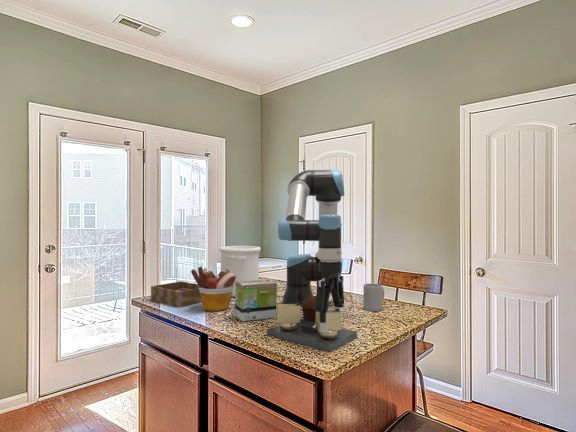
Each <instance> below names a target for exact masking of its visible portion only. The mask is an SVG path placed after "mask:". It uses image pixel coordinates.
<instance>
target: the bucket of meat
mask: <svg viewBox="0 0 576 432" xmlns="http://www.w3.org/2000/svg"><path fill="white" fill-rule="evenodd" d="M197 271H198V272H197ZM226 272H227V273H226ZM226 272H223V271H221V270H220V271H219V273H218V274H215V273H214V272H213V271H212V270H209V271H208V268H207V267H204V268H203V266H198V268H197V270H196V269H191V271H190V273H191V275H192V277H193V278H194V280H195V282H196V284H198V286H199V291H200V296H201V300H202V303H201V305H202V308H203V309H204V310H205V311H208V312H221V311H225V310H227V309H228V308H229V307H230V306H231V305H230V303H231V298H232V297H231V296H232V291H233V288H234V285H233V284H234V282H235V279H236V275H235V274H233V272H232V271H230V269H229V268H226Z"/></svg>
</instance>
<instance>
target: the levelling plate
mask: <svg viewBox="0 0 576 432" xmlns="http://www.w3.org/2000/svg"><path fill="white" fill-rule="evenodd" d="M268 335H269V337H272V336H273V337H272V338H275V337H276V338H277V339H279V338H280V340H284V341H287V342H291V343H295V344H299V345H303V346H306V347H310V348H314V349H318V350H321V351H325V352H329V353H331V352H333V351H335V350H336V349H338V348H340V347H342V346H344V345H346V344H348V343H349V342H351V341H353V340H355V339H357V338H358V331H356V330H352V329H346V328H342V327H341V330H337V337H336V338H332V339H327V338H322V337H320V336H319V332H318V331H317V330H316V322H310V321H306V320H304V319H301V318H300V323H297V328H296V329H293V330H284V329H281V328H280V324H279V325H276V326H273V327H270V328H268V329H266V336H268Z"/></svg>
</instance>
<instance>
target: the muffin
mask: <svg viewBox="0 0 576 432" xmlns="http://www.w3.org/2000/svg"><path fill="white" fill-rule="evenodd" d="M330 306H331V305H330V304H329V302H328V307H327V311H329V308H330ZM300 308H301V311H302V320H306V321H310V322H316V295H313V296H310V297H308V298H306V299H305V300H304V301H303V302H302V304H301V306H300Z"/></svg>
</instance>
